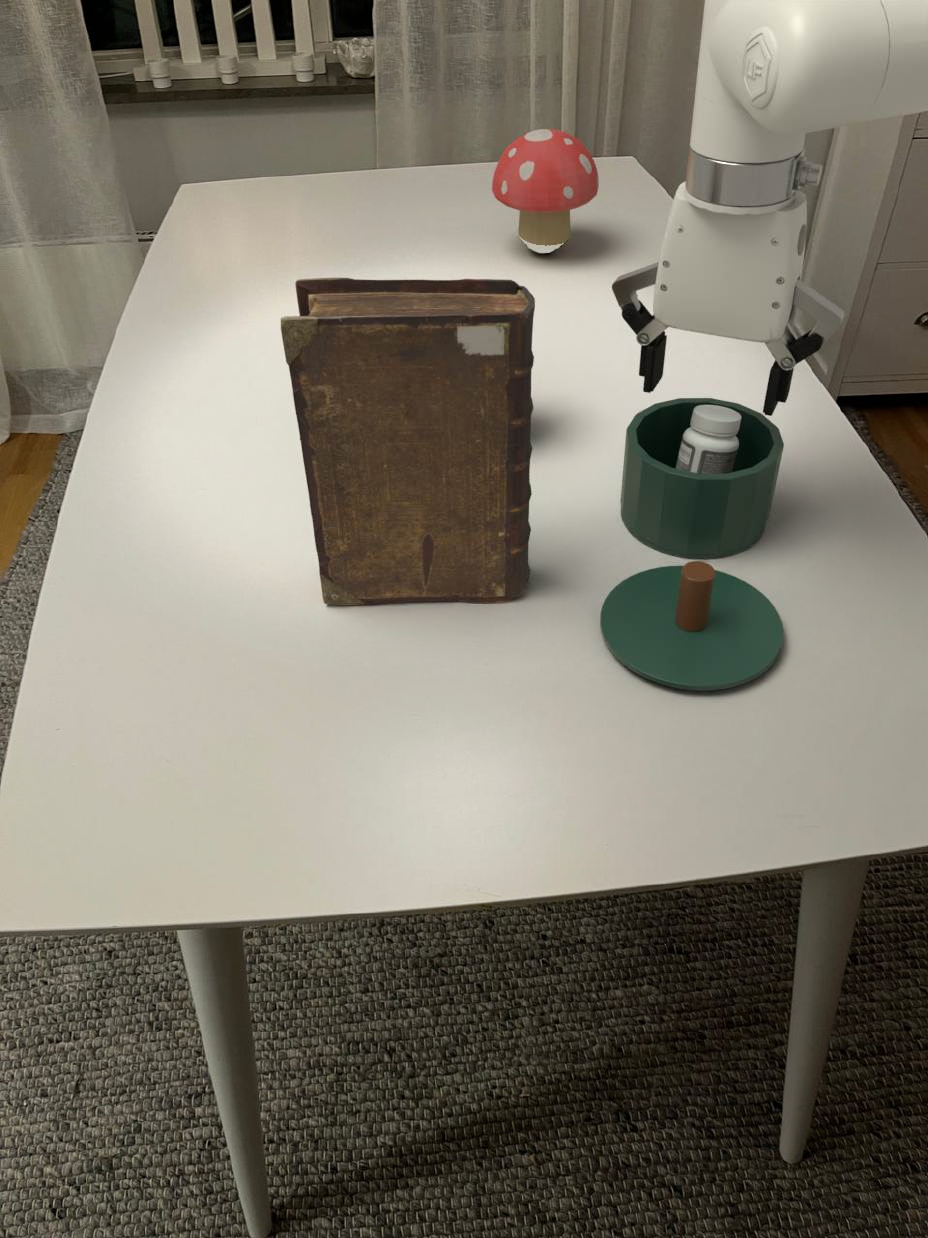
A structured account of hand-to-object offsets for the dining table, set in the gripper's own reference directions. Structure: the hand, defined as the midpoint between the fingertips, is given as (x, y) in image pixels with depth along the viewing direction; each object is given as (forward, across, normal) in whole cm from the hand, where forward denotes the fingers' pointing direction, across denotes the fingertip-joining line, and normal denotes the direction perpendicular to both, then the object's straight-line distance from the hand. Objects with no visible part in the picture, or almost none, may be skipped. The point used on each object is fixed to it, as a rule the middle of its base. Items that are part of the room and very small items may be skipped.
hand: (710, 395), depth 82 cm
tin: (+12, 0, 0) cm, 12 cm away
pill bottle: (+11, 0, 0) cm, 11 cm away
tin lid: (+11, -4, +15) cm, 19 cm away
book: (+12, +17, +18) cm, 28 cm away
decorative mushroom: (+12, +34, -49) cm, 61 cm away
